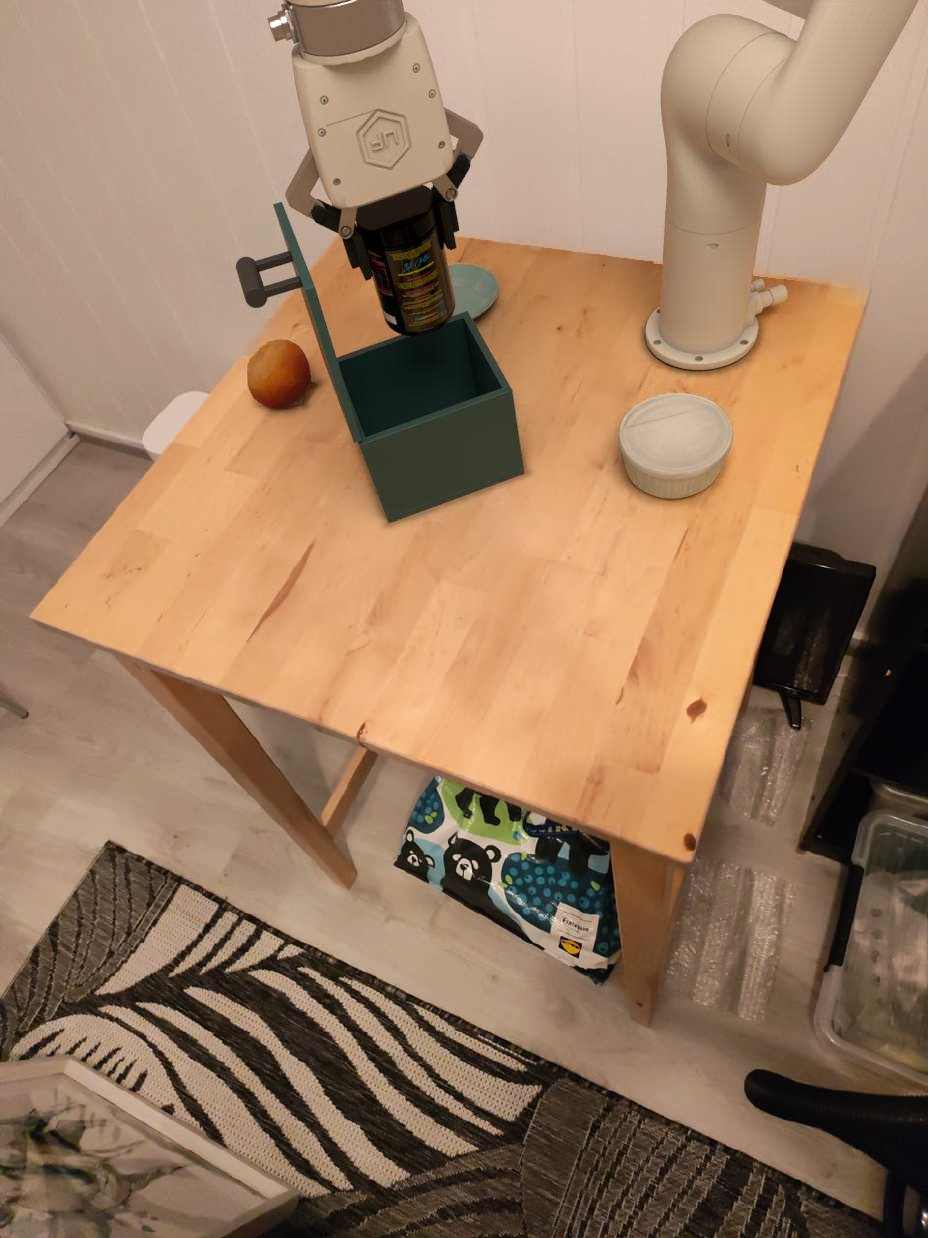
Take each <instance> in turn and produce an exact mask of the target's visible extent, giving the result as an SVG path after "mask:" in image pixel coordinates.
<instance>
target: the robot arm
mask: <svg viewBox="0 0 928 1238" xmlns="http://www.w3.org/2000/svg"><path fill="white" fill-rule="evenodd" d="M282 1H283V3H282V4H280V7H281V10H279V11H277V12H276V15H273V16H270V17H267V18H266V19H267V23H268V27H269V29H270V33H271V35H272V39H273V40H274V42H275V43H276V42H279V41H283V40H284V39H285V40H286V42H288V41H290V40H291V41H292V43H293V44H294V46H293V47H292V49H291V62H292V72H293V79H294V84H295V89H296V90H295V91H296V94H297V99H298V105H299V109H300V115H301V118H302V123H303V127H304V131H305V135H306V140H307V143H308V147H309V148H308V150H307V151H306V154H305V155H304V157H303V159H302V161H301V162H300V164H299V166H298V168H297V169H296V171H295V174H294V176H293V178H292V179H291V181H290V183H289V185H288V187H287V188H286V190H285V192H284V197H285V199H286V201H287V203H288V206H289V208H290V209H291V208H292V209H293V210H295V212H298V213H300V214H302V215H303V216H306V217H307V218H310V219H312V220H313V221H314V222H315V223H316V224H317V225H320V226H321V227H324V228H326V229H327V230H330V231H332V232H334V233H336V234H338V236H339V237H340V238H341V240H342V243H343V246H344V247H343V248H344V249H345V253H346V255H347V259H348V262H349V264H350V267H351V269H352V270H355V269H357V268H359V269H360V272H361V274H362V276H363V278H364V281H366V282H367V281H369V280H373V278H372V277H373V273H372V270H371V266H370V263H369V259H368V256H367V252H366V249H365V246H364V242H363V239H362V236H361V234H360V232H359V230H358V228H357V224H356V221H355V220H356V214H357V208H359V207H362V206H365V205H368V204H371V203H374V202H377V201H380V200H382V199H385V198H388V197H391V196H394V195H397V194H399V193H402V192H405V191H408V190H411V189H413V188H416V187H419V186H422V185H424V186H425V185H427V184H429V183H431V184H432V187H431V186H430V189H431V190H432V191H433V193H434V195H435V199H436V204H437V209H438V213H439V222H440V227H441V232H442V237H443V242H444V247H445V248H446V249H447V250H450V251H453V250H456V249H457V241H456V236H455V233H457V232H459V231H460V223H459V219H458V213H457V208H456V207H457V206H456V202H455V200H457V198H458V196H459V188H460V186H461V184H462V183H463V181H464V179H465V178H466V176H467V174H468V172H469V171H470V168H471V162H472V160H473V159H474V158H475V156H476V154H477V152H478V150H479V149H480V146H481V144H482V142H483V140H484V132H483V131H482V130H481V128H480V127H479V126H478V125H477V123H474V122H472V121H471V120H469V119H467V118H465V117H463V116H462V115H460V114H457V113H456V112H454V111H452V110H450V109H449V108H447V107H445V106H444V101H443V98H442V93H441V90H440V86H439V82H438V78H437V74H436V70H435V67H434V63H433V59H432V57H431V54H430V53H431V52H430V51H429V47H428V44H427V40H426V38H425V35H424V32H423V30H422V27H421V25H420V22H419V20H418V19H417V18H416V17H415V16H414V15H412V14H411V13H410V12H408V11H405V8H404V2H403V0H282ZM762 1H763V2H764V3H766V4H769V5H771V6H773V7H775V8H777V9H780V10H782V11H783V12H786V13H789V14H791V15H793V16H796V17H797V18H800V19H801V20H805V21H804V22H803V25H802V28H801V30H800V33H799V35H798V37H797V39H796V40H795V39H793V38H791V37H789V36H788V35H786V34H785V33H782V32H780V31H778V30H776V29H774V28H771V27H770V26H768V25H765V24H763V23H761V22H758V21H757V20H754V19H751V18H749V17H746V16H742V15H738V14H730V13H718V14H713V15H709V16H707V17H704V18H702V19H700V20H698V21H696V22H695V23H693V24H692V25H690V27H688V28H687V29H686V30H685V31H684V32H683V33H682V34H681V36H679V38H678V39H677V41H676V42H675V44H674V45H673V47H672V49H671V51H670V52H669V55H668V57H667V59H666V62H665V65H664V68H663V73H662V77H661V85H660V113H661V114H660V115H661V124H662V130H663V136H664V145H665V153H666V154H665V155H666V193H665V194H666V195H665V210H664V226H663V227H664V229H663V245H662V264H661V265H662V267H661V283H660V285H661V286H660V301H659V302H660V303H659V304H660V305H659V306H658V307H656V308H655V309H654V310H653V311H652V312H651V314H650V315H649V317H648V319H647V321H646V324H645V330H644V331H645V341H646V345H647V348H648V349H649V350H650V352H651V353H652V354H653V355H654V356H655V357H656V358H657V359H659V360H660V361H662V362H663V363H665V364H668V365H670V366H671V367H672V366H673V367H675V368H679V369H683V370H692V371H707V370H714V369H719V368H723V367H726V366H729V365H731V364H733V363H735V362H738V361H739V360H741V359H742V358H744V356H746V355H747V354H748V353H749V352H750V351H752V349H753V347H754V346H755V344H756V342H757V339H758V334H759V327H760V326H759V319H758V317H757V316H756V315H759V314H761V313H762V312H763V310H764V309H765V308H767V307H773V306H776V305H779V304H781V303H784V302H786V301H787V300H788V295H789V294H788V290H787V287H786V285H784V284H777V285H775V286H773V287H770V288H767V289H765V288H766V284H765V281H764V279H763V278H758V279H755V280H753V275H754V271H755V262H756V257H757V251H758V244H759V237H760V231H761V227H762V226H761V225H762V221H763V220H762V219H763V213H764V208H765V202H766V195H767V186H768V184H769V185H772V186H778V187H786V186H790V185H795V184H797V183H799V182H801V181H803V180H805V179H806V178H808V177H810V176H811V175H812V174H813V173H814V172H815V171H817V169H819V168H820V167H821V165H822V164H823V163H824V162H825V161H826V160H827V159H828V158H829V156H830V155H831V154H832V152H833V151H834V150H835V148H836V146H837V145H838V144H839V142H840V141H841V139H842V137H843V135H844V134H845V132H846V131H847V129H848V128H849V126H850V124H851V122H852V121H853V119H854V117H855V116H856V114H857V112H858V110H859V108H860V107H861V105H862V103H863V101H864V100H865V98H866V96H867V94H868V92H869V91H870V89H871V87H872V85H873V83H874V82H875V80H876V78H877V76H878V74H879V73H880V71H881V69H882V67H883V66H884V64H885V62H886V60H887V59H888V57H889V55H890V53H891V52H892V50H893V48H894V47H895V45H896V42H897V41H898V39H899V38H900V35H901V33H902V32H903V30H904V29H905V26H906V25H907V23H908V21H909V20H910V18H911V17H912V14H913V12H914V10H915V8H916V7H917V4H918V2H919V1H920V0H762ZM452 136H453V137H454V138H456V139H458V140H457V142H456V147H455V148H453V142H452ZM319 180H320V182H321V185H322V187H323V189H324V192H325V194H326V197H327V198H328V200H329V201H330V203H331V204H329V203H327V202H325V201H323V200H322V199H319V198H315V197H313V195H311V193H312V191H313V190H314V188H315V186H316V184H317V182H318V181H319Z"/></svg>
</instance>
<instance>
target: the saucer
mask: <svg viewBox="0 0 928 1238" xmlns="http://www.w3.org/2000/svg"><path fill="white" fill-rule="evenodd" d="M448 267H449V272H450V277H451V282H452V287H453V292H454V297H455V302H456V305H455V310H454V313H453V315H452V316H454V315H457V314H460V313H463V312H466V311H468V313H469V314H470V316H471V318H472V320H473V321H474V320H475V319H477V318H479V317H480V316H482V315H483V314H484V313H486V311H487V310H488V309H489V308H490V307H491V306H492V305H493V304H494V302H496V300H497V297H498V295H499V291H500V285H499V281H498V279H497V277H496V276H495V275H494V274H493V273H492V272H491V271H489V270H488V269H487V268H484V267H481V266H479V265H474V264H469V263H468V264H467V263H458V264H457V263H456V264H448Z"/></svg>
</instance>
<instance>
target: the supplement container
mask: <svg viewBox="0 0 928 1238" xmlns="http://www.w3.org/2000/svg"><path fill="white" fill-rule="evenodd" d="M355 223H356V225H357V228H358V230H359V232H360V234H361V236H362V239H363V242H364V246H365V249H366V252H367V256H368V259H369V263H370V266H371V270H372V273H373V277H371V278H372V281H373V285H374V288H375V291H376V295H377V298H378V302H379V305H380V309H381V312H382V315H383V320H384V322H385V324H386V325H387V326H388V327H389V328H390V329H391V330H392V331H393V332H395V333H397V334H399V335H405V336H423V335H427V334H430V333H433V332H435V331H437V330H439V329H440V328H442V327H443V326H444V325H446V324H447V322H448V321H449V320H450V319H451V317H452V315H453V313H454V310H455V305H456V302H455V297H454V292H453V287H452V282H451V277H450V272H449V267H448V266H449V263H448V258H447V252H446V246H445V244H444V242H443V237H442V232H441V227H440V222H439V213H438V209H437V204H436V199H435V195H434V193H433V191H432V190H431V187H428V186H427V185H425V184H424V185H422V186H419V187H416V188H413V189H411V190H408V191H405V192H402V193H399V194H397V195H394V196H391V197H388V198H385V199H382V200H380V201H377V202H374V203H371V204H368V205H365V206H362V207H359V208H357V214H356V220H355Z"/></svg>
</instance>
